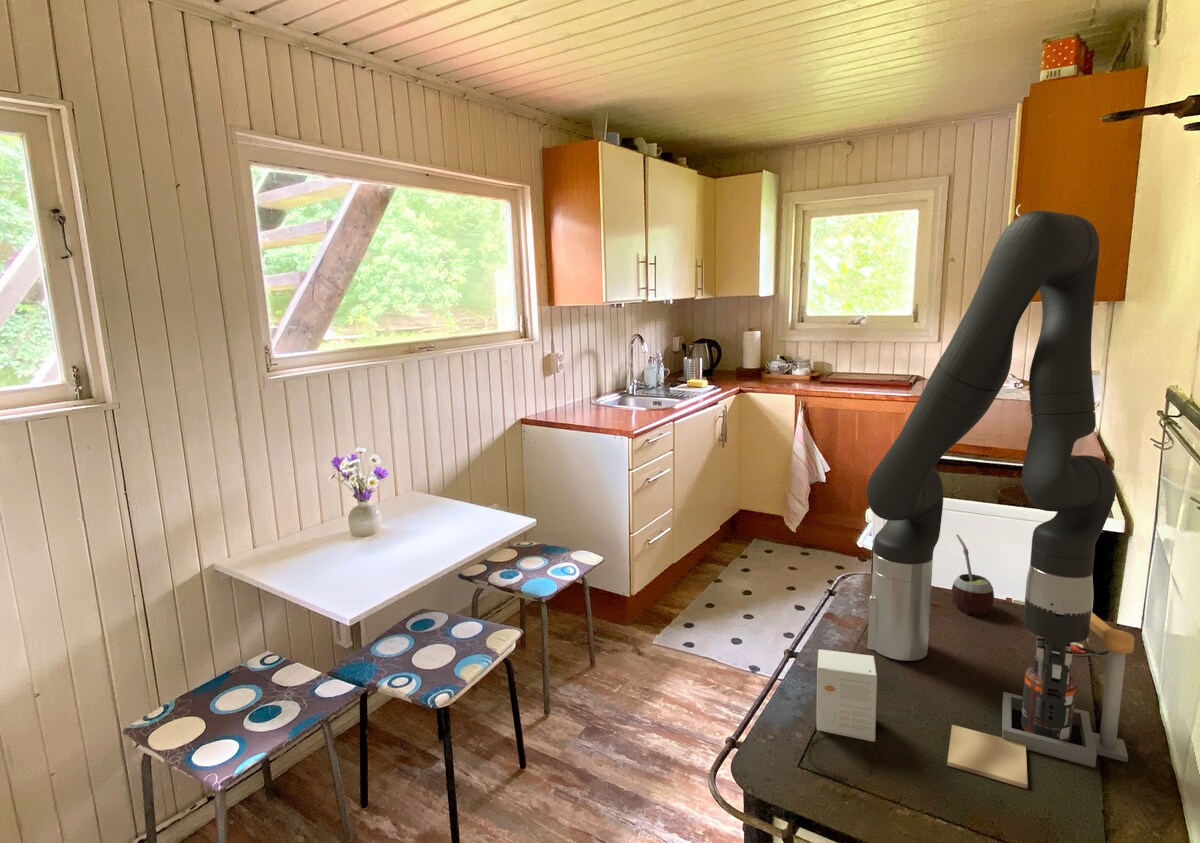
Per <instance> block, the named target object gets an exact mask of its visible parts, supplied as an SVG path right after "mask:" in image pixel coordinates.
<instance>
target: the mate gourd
mask: <svg viewBox="0 0 1200 843" xmlns="http://www.w3.org/2000/svg"><path fill="white" fill-rule="evenodd" d="M955 536H956V537H957V540H958V541H959V542H960V545H961V546H962V549H963V550H962V551H963V555H964V557H965V562H966V568H967V573H963V574H959V575H958V576H957V577H956V579H954V581H953V584H952V587H951V588H952V589H951V596H952V604H954V605H955V606H956V608H957V609H958V610H960V611H961V612H963V613H965V615H966V616H969V615H974V616H981V615H990V614H991V612H992V610H993V605H994V598H995V593H994V592H995V591H994V587H993V586H992V583H991V582H990V580H989V579H987V578H986V577H985V576H982V575H978V574H973V573H972V568H971V564H970V563H971V562H970V557H969V549H968V548H967V545H966V544H965V543H964V542H965V541H963V540H962V537H961V536H960V535H959V534H956V535H955Z"/></svg>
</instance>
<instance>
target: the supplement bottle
mask: <svg viewBox="0 0 1200 843" xmlns="http://www.w3.org/2000/svg"><path fill="white" fill-rule="evenodd" d="M1043 664H1044V663H1043ZM1044 672H1045V669H1044V667H1043V673H1044ZM1024 674H1025V675H1024V682H1023V685H1024V686H1023V706H1022V712H1021V718H1020V719H1021V727H1022V729H1023V730H1022V731H1025V732H1029V733H1033V734H1037V735H1041V736H1045V737H1048V738H1052V739H1056V740H1060V741H1064V742H1068V743H1070V740H1071V737H1072V734H1073V733H1072V730H1073V724H1072V723H1073V712H1074V708H1075V702H1076V691H1077V690H1076V689H1077V686H1076V681H1075V679H1074V678H1073V677H1072V676H1071V675H1070V674H1069V683H1068V684H1067V687H1066V695H1065V699H1066V703H1065V704H1064V705H1061V712H1060V723H1059V725H1058V726H1053V725H1049V724H1045V723H1042V722H1041V721H1040V709H1041V695H1040V691H1041V687H1042V681H1041V679H1039V678H1038V657H1037V655H1035V656H1034V662H1033V665H1032V666H1030V667H1028V668H1027V669H1026V670H1025V673H1024ZM1048 690H1050V691H1054V692H1059V690H1057V689H1052V688H1049V689H1048Z"/></svg>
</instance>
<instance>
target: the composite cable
mask: <svg viewBox="0 0 1200 843" xmlns="http://www.w3.org/2000/svg"><path fill="white" fill-rule="evenodd" d="M1070 651H1072V655H1073V656H1072V657H1077V656H1082V657H1089V656H1093V657H1094V656H1096V657H1101V658H1107V659H1108V654H1109V650H1105V651H1100V652H1099V651H1096V650H1093V649H1091V648H1089V647H1087V646H1086V645H1084V644H1081V643H1080V642H1078V643H1070ZM1077 653H1078V654H1077ZM1104 654H1106V656H1105V655H1104Z"/></svg>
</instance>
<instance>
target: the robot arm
mask: <svg viewBox="0 0 1200 843" xmlns="http://www.w3.org/2000/svg"><path fill="white" fill-rule="evenodd" d="M1099 256H1100V239H1099V234H1098V232H1097V229H1096V227H1095V226H1094V224H1093V223H1091V222H1090V221H1089V220H1088V219H1086V218H1084V217H1082V216H1079V215H1075V214H1071V213H1063V212H1057V211H1056V212H1055V211H1050V210H1049V211H1048V210H1034V211H1033V210H1032V211H1028V212H1025V213H1023V214H1021V215H1020V216H1018V217H1017V218H1015V219H1013V220H1012V221H1011V222H1010V224H1008V225H1007V227H1005V229H1004V230H1003V232H1002V233H1001V235H1000V236H999V238H998V240H997V242H996V244H995V246H994V247H993V250H992V252H991V255H990V257H989V258H988V262H987V264H986V267H985V269H984V272H983V274H982V276H981V279H980V281H979V283H978V287H977V288H976V291H975V294H974V295H973V297H972V299H971V302H970V304H969V306H968V308H967V310H966V311H965V313H964V315H963V317H962V318H961V321H960V323H959V325H958V326H957V328H956V330H955V332H954V334H953V335H952V338H951V340H950V342H948V346H947V347H946V348H945V350H944V352H943V353H942V355H941V356H940V358H939V360H938V362H937V364H936V365H935V368H934V369H933V371H932V372H931V375H930V376H929V379H928V381H927V382H926V384H925V385H924V386H925V387H924V388H923V390H922V392H921V394H920V396H919V397H918V399H917V401H916V403H915V405H914V407H913V408H912V410H911V412H910V414H909V416H908V417H907V419H906V421H905V423H904V425H903V428H902V429H901V431H900V433H899V434H898V435H897V438H896V439H895V441H894V442H893V443H892V444H891V446H890V448H889V449H888V450H887V451H886V453H885V455H884V456H883V457H882V459H881V460H880V462H878V464H877V465H876V467H875V469H874V470H873V471H872V473H871V475H870V476H869V479H868V481H867V485H866V493H865V494H866V495H865V496H866V501H867V504H868V507H869V508H870V510H871V511H872V513H873V514H875V516H876V517H878V518H880V519H883V520H886V522H885V524H884V525H883V526H882V528H880V530H879V531H878V532H877V533H876V534H875V536H874V539H873V554H872V555H873V558H872V559H873V560H872V580H871V581H872V582H871V584H872V585H871V594H870V596H869V598H868V599H869V600H868V602H869V603H868V622H867V625H868V627H867V649H868V650H871V651H875V652H876V653H878V654H880V655H881V656H884V657H886V658H888V659H892V660H893V659H894V660H897V661H907V662H908V661H918V660H922V659H924V658H925V657H926V656H928V651H929V650H928V648H929V633H930V632H929V630H930V617H931V616H930V615H931V614H930V612H931V595H932V581H933V580H932V579H933V562H934V561H933V560H934V551H935V547H936V546H937V543H938V541H939V538H940V535H941V527H942V526H941V525H942V520H943V519H942V516H943V509H944V485H943V481H942V478H941V476H940V474H939V472H938V471H937V469H936V468H935V467H936V466H937V464H938V462H939V461H940V460H941V459H942V457H943V456H945V454H946V453H947V452H948V451H949V450H950V449H952V447H954V446H955V444H957V443H958V442H959V441H960V440H961V439H962V438H963V437H964V436H966V435H967V434H968V433H969V432H970V431H971V430H972V429H973V428H974V427H975V426H976V425H977V424H978V423H979V422H980V421H981V420H982V418H983V417H984V415H985V414H986V413H987V412H988V410H989V409H990V407H991V406H992V405H993V402H995V399H996V397H998V394H999V393H1000V391H1001V389H1002V388H1003V387H1004V384H1005V383H1006V381H1007V379H1008V378H1009V373H1010V371H1011V366H1012V360H1013V349H1014V340H1015V334H1016V330H1017V327H1018V325H1019V323H1020V320H1021V318H1022V316H1023V314H1024V313H1025V311H1026V309H1027V307H1028V306H1029V304H1030V303H1031V302H1032V300H1033V298H1034V297H1035V296H1036V294H1037V292H1038V291H1039V293H1040V294H1039V295H1040V300H1041V306H1042V309H1041V310H1042V318H1041V327H1040V334H1039V337H1038V340H1037V344H1036V346H1035V350H1034V353H1033V356H1032V357H1033V358H1032V361H1031V365H1030V370H1029V378H1028V390H1029V402H1030V403H1029V404H1030V405H1029V406H1030V415H1031V416H1030V417H1031V429H1030V433H1029V437H1028V441H1027V445H1026V446H1027V447H1026V451H1025V455H1024V460H1023V464H1022V471H1021V484H1022V487H1023V488H1022V489H1023V491H1024V494H1025V495H1026V497H1027V499H1028V500H1029V502H1030V503H1031V504H1032V505H1034V506H1035V507H1036V508H1038V509H1040V510H1041V511H1045V512H1056V513H1055V515H1054V516H1053V517H1052V518H1050V519H1049V520H1047V521H1044V522H1042V523H1040V524H1038V525H1037V526H1036V527H1035V528H1034V530H1033V532H1032V538H1031V551H1030V563H1029V568H1028V572H1027V576H1026V585H1025V596H1024V608H1023V609H1024V610H1023V619H1022V621H1023V625H1024V627H1025V628H1026V630H1028V631H1029V632H1030V633H1032V634H1034V635H1035V636H1036V638H1035V649H1036V655H1037V657H1038V678H1039V679H1041V681H1042V687H1041V691H1040V695H1041V709H1040V721H1041V722H1042V723H1045V724H1049V725H1053V726H1058V725H1059V723H1060V712H1061V705H1064V704H1065V703H1066V699H1065V695H1066V687H1067V684H1068V683H1069V675H1070V665H1071V664H1072V662H1073V656H1072V653H1073V652H1072V651H1070V643H1081V642H1084V641H1086V640H1087V639H1088V638H1089V636H1090V630H1091V629H1090V620H1091V612H1092V610H1093V609H1092V608H1093V599H1094V598H1093V597H1094V580H1093V574H1094V564H1095V563H1094V562H1095V552H1096V543H1097V542H1098V539H1099V537H1100V535H1101V534H1102V532H1103V529H1104V527H1105V524H1106V523H1107V519H1108V517H1109V515H1110V512H1111V510H1112V509H1113V508H1112V507H1113V505H1114V502H1115V497H1116V494H1117V483H1116V479H1115V478H1116V477H1115V475H1114V474H1115V473H1114V472H1113V470H1112V469H1111V467H1110V466H1109V465H1108V463H1107V462H1105V461H1104V460H1103V459H1101V458H1100V457H1098V456H1093V455H1087V454H1085V455H1084V454H1082V455H1072V453H1073V449H1074V445H1075V443H1076V442H1077V441H1078V440H1081V439H1082V438H1085V437H1088V436H1089V435H1092V433H1094V431H1095V429H1096V423H1097V421H1096V419H1097V416H1096V412H1095V411H1096V407H1095V406H1096V405H1095V393H1094V382H1093V371H1092V370H1093V367H1092V337H1093V336H1092V334H1093V332H1092V331H1093V320H1094V319H1093V317H1094V316H1093V315H1094V305H1095V291H1096V284H1097V274H1098V268H1099V258H1100V257H1099ZM1036 655H1035V656H1036ZM1043 663H1044V664H1043ZM1043 667H1044V669H1045V672H1044V673H1043ZM1049 688H1052V689H1057V690H1059V692H1054V691H1050V690H1048V689H1049Z"/></svg>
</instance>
